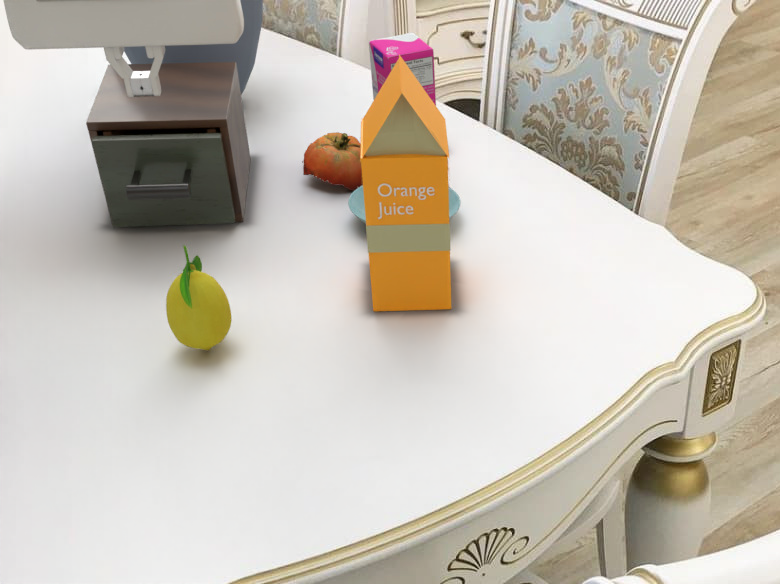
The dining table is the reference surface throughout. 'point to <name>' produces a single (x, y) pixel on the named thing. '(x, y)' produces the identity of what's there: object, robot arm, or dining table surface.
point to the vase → (216, 47)
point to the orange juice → (406, 196)
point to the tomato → (335, 160)
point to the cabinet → (182, 111)
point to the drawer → (164, 176)
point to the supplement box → (411, 52)
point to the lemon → (197, 307)
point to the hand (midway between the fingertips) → (145, 94)
